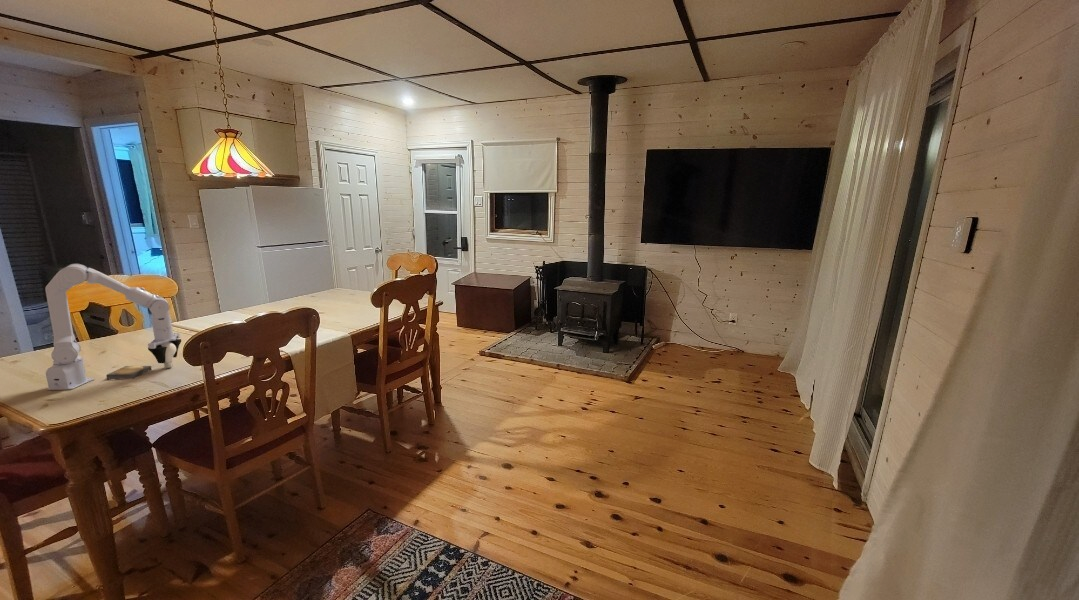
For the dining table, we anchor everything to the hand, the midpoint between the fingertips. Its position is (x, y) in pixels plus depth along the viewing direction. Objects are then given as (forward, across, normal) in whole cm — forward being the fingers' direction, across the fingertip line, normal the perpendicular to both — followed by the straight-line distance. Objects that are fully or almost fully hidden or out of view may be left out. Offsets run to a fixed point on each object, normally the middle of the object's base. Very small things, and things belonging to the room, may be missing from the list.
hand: (167, 360), depth 172 cm
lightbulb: (+4, 0, 0) cm, 4 cm away
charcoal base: (+3, -6, +10) cm, 12 cm away
